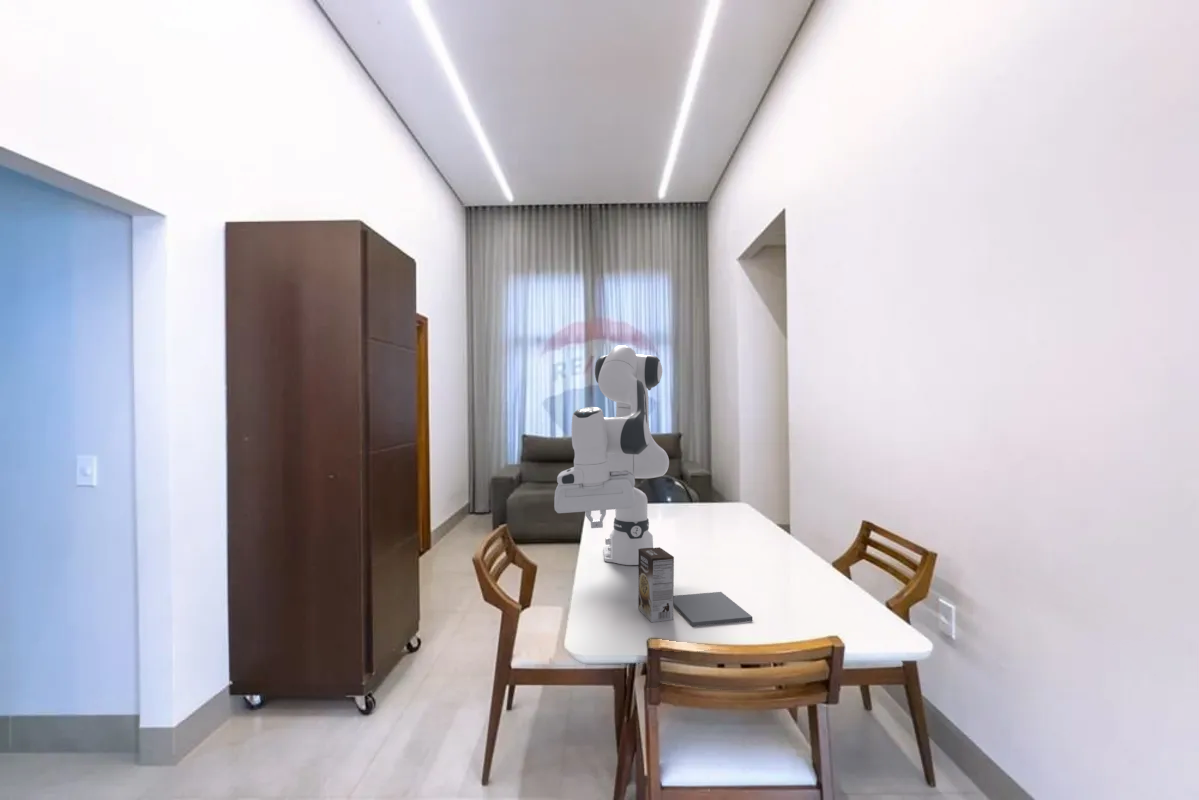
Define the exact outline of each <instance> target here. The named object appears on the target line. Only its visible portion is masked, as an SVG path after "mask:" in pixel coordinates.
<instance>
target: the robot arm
mask: <svg viewBox="0 0 1199 800" xmlns="http://www.w3.org/2000/svg"><path fill="white" fill-rule="evenodd" d="M593 370H594V376H595V380H596V382H597V384H598V388H599V390H600V392H601V393H602V395H603V396H604V397H606V398H607V399H609V400H610V401H612V402H615V403H616V404H615V405H616V407H615V409H616V410H615V411H616V412H615V415H616V416H608V417H606V416H604V412H603V410H602V409H601V408H600V407H597V406H589V407H588V406H587V407H586V406H585V407H583V408H578V409H577V410H576V411H574V412H573V413H572V419H571V444H572V449H573V450H574V451H573V452H574V458H573V467H570V468H568V469H564V470H562V471H560V472H559V473H558V475H557V477H556V482H557V486H556V488H555V490H554V500H553V501H554V505H553V507H554V511H555V512H556V513H557V514H567V513H568V514H570V513H582V512H585V517H586V519H587V520H588V521H589V522H590V528H591V529H599V528H600V529H601V528H602V529H603V526H604V525H603V524H604V522H603V521H604V519H605V517H606V515H607V510H608V511H609V510H615V516H614V519H613V520H614V521H613V530H612V531H611V533H610V534H609V537H606V538H605V540H604V541H605V542H604V543H605V545H607V546H604V547H603V549H602V552H603V560H604V562H607V563H615V564H618V565H623V566H625V565H626V566H638V565H639V551H638V549H641V548H654V535H653V534H652V533H651V532H650V531H649V529H650V520H649V518H648V497H647V495H646V493H645V492H643V490H641V489H639V488H637V487H635V486H636V479H654V478H659V477H662V476H664V475H665V474H666V473H667V472H668V469H669V468H670V467H669V466H670V459H669V456H668V453H667V452H666V450H664V448H663V447H661V446H660V445H659V444H658V443H657V442H656V441H655V440H654V438H653V436H652V433H651V430H650V422H649V421H650V420H649V419H650V418H649V392H648V391H652V388H655V387H656V386H658V385H659V383H660V381H661V379H662V376H663V367H662V363H661V360H660V359H659V357H658V356H655V355H652V354H647V355H646V354H645V355H644V354H637V353H636V351H635V350H634V349H632V347H629V346H627V345H617V346H615V347H613V348H612V349H611V350H610V351H609V353H608V354H607V355H602V356H600V357H599V358H598V359H597V360H596V362H595V366H594V369H593ZM594 511H599V514H600V518H597V519H594V518H593V517H592V512H594Z"/></svg>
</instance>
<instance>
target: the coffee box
mask: <svg viewBox="0 0 1199 800" xmlns="http://www.w3.org/2000/svg"><path fill="white" fill-rule="evenodd" d="M638 551H639V565H637V566H638V590H637V591H638V597H637V598H638V603H637V604H638V611H640V612H641V613H642V614H643V616H645V618H646V619H647V620H648V621H650V622H651V623H659V622H664V621H673V620H674V606H673V596H674V587H675V586H674V583H675V582H674V579H675V578H674V577H675V574H674V573H675V572H674V571H675V556H673V555H672V554H670V553H669V552H667V551H666V550H664V549H663V548H661V547H653V548H641V549H638Z"/></svg>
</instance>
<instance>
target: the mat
mask: <svg viewBox="0 0 1199 800" xmlns="http://www.w3.org/2000/svg"><path fill="white" fill-rule="evenodd" d="M673 608H674V609H675V610H676V611H677V612H678V613H679V614H680V615H681V616H682V617H683V619H685V620H686V621H687V622H688V623H689V624H690V625H691V627H702V626H712V625H722V624H734V623H742V622H752V621H753V616H752V614H749V612H747V611H746V610H745V609H743V608H742V607H741V606H740V605H738V604H737V603H736V602H735V601H734V600H732V599H731V598H729V597H728V596H727V595H726V594H725V593H723V592H722V591H714V592H702V593H701V592H700V593H689V594H688V593H687V594H679V595H678V594H677V595H676V594H675V595H673Z"/></svg>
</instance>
